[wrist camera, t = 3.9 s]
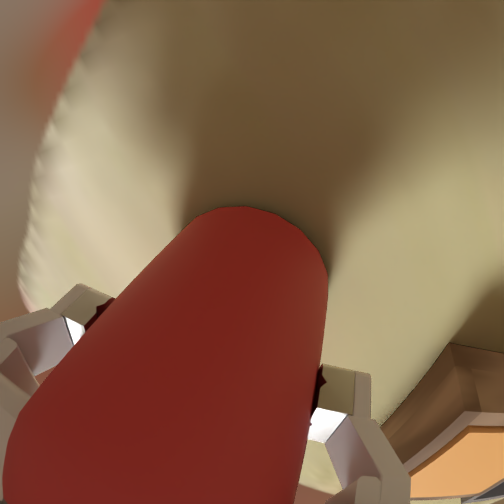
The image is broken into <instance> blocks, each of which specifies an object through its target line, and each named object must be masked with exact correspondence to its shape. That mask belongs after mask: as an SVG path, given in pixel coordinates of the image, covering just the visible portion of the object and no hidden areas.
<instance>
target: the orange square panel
mask: <svg viewBox="0 0 504 504" xmlns="http://www.w3.org/2000/svg"><path fill="white" fill-rule="evenodd" d="M408 474H409V476H410V477H411V492H410V498H413V497H443V496H457V495H467V494H476V493H480V492H482V491H484V490H485V489H487V488H489V487H490V486H492V485H494V484H495V483H497V482H498V481H500V480H501V479H503V478H504V426H477V425H468V426H467V427H465V428H464V429H463V430H462V431H461V432H460V433H459V434H458V435H456V436H455V437H454V438H453V439H452V440H450V441H449V442H448V443H447V444H446V445H444V446H443V447H442V448H441V449H439V450H438V451H437V452H436V453H434V454H433V455H432V456H430V457H429V458H428V459H426V460H425V461H424V462H422V463H421V464H420V465H418V466H417V467H416V468H414V469H413V470H411V471H410V472H408Z"/></svg>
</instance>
